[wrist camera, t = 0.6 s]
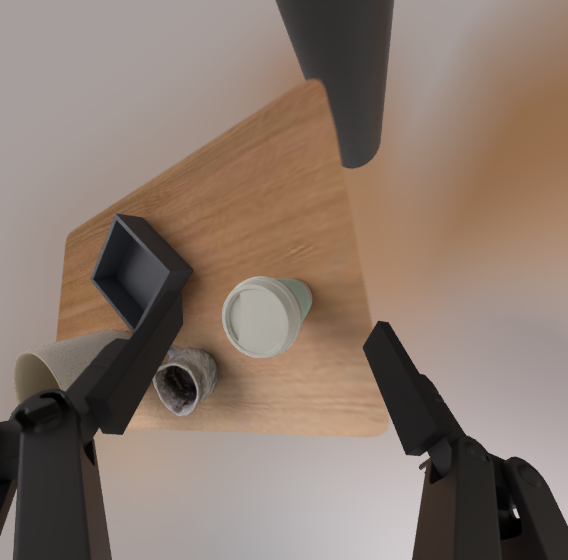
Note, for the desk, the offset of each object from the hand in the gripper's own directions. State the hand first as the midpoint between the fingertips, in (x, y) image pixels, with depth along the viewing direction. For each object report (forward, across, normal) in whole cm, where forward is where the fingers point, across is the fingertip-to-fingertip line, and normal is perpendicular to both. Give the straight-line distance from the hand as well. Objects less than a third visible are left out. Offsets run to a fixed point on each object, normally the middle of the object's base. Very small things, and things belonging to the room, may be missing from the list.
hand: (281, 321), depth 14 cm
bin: (+26, -23, -17) cm, 39 cm away
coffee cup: (+15, +4, -9) cm, 18 cm away
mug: (+16, -10, -27) cm, 33 cm away
